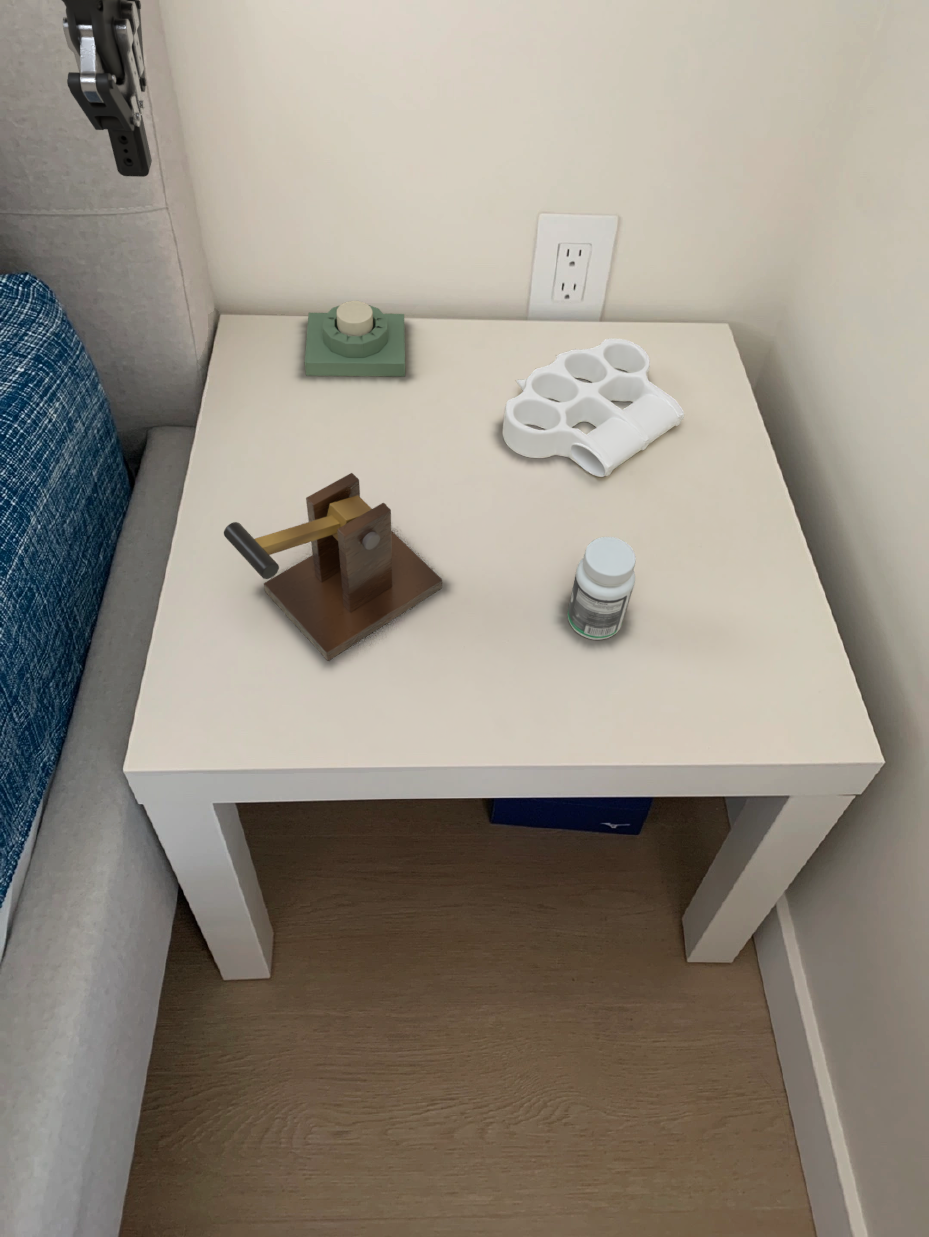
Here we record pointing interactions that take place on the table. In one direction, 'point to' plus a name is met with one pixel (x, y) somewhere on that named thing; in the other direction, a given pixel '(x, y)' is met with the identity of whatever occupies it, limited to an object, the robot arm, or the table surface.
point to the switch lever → (292, 535)
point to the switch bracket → (351, 576)
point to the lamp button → (354, 318)
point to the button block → (355, 347)
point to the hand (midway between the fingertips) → (136, 171)
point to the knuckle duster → (590, 407)
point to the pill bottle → (602, 588)
